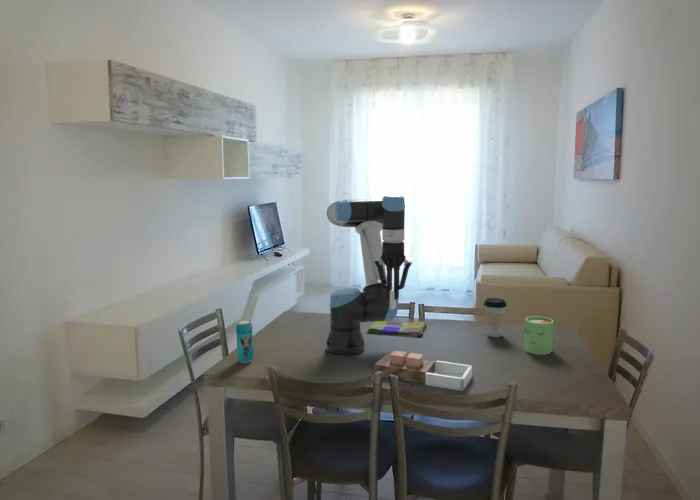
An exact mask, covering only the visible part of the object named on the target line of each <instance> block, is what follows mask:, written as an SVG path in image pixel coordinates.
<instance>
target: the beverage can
mask: <svg viewBox="0 0 700 500" xmlns="http://www.w3.org/2000/svg"><path fill="white" fill-rule="evenodd" d="M235 329H236V350H237V351H236V352H237V359H238V362H239V363H240V364H250V363H252V362H253V358H254V337H253V336H254V334H253V323H252V320H248V319H243V320H242V319H241V320H238V321H237V322H236V327H235ZM249 362H250V363H249Z"/></svg>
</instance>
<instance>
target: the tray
mask: <svg viewBox="0 0 700 500" xmlns="http://www.w3.org/2000/svg"><path fill="white" fill-rule="evenodd" d="M473 368H474V366H473V365H472V364H471V365H470V364H463V363H456V362H449V361H444V360H436V361H435V373H427V372H426V377H425V384H424V385H425V386H430V387H435V388H439V389H441V388H442V389H446V388H447V390H452V391H459V392H464V391H465V389H466V388H467V386H468V385H469V383H470V382H471V380H472V379H473V372H474V370H473Z"/></svg>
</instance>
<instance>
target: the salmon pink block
mask: <svg viewBox="0 0 700 500" xmlns="http://www.w3.org/2000/svg"><path fill="white" fill-rule="evenodd" d="M407 354H408V353H407V351H401V350H394V351H392V352H391V353H389V355H390V363H393V364H399V365H403V364H404V363H405V362H406V361H407V356H408V355H407Z"/></svg>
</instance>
